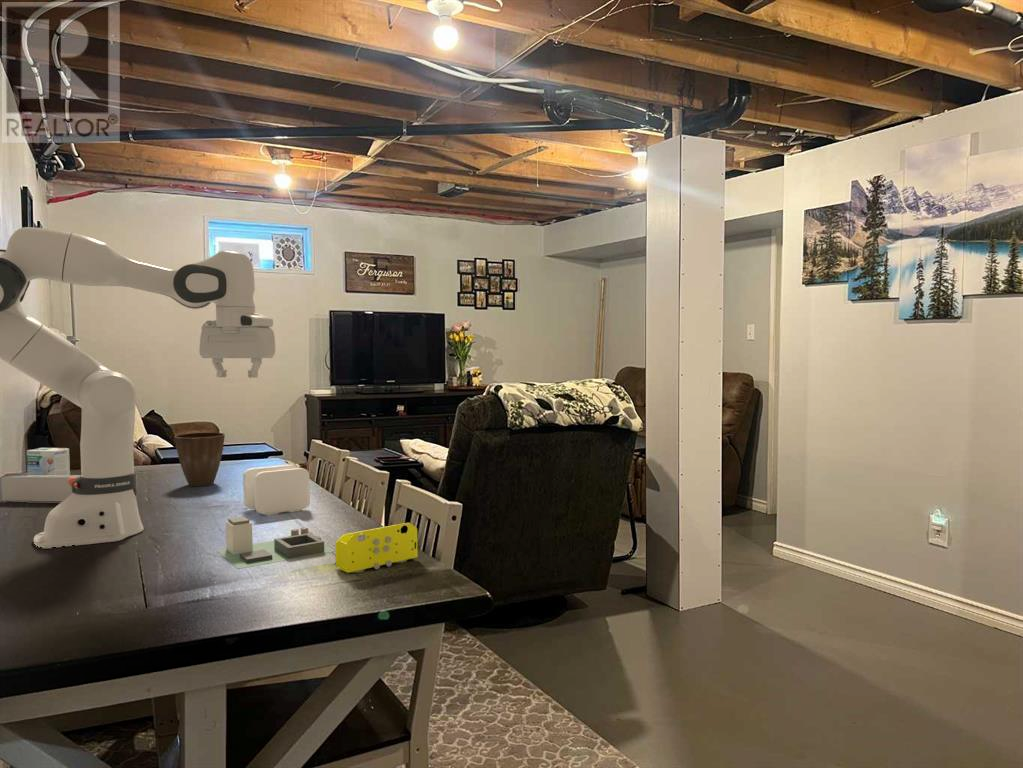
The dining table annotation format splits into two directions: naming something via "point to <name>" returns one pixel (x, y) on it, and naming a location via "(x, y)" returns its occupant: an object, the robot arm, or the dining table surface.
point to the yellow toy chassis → (376, 547)
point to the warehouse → (36, 487)
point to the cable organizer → (276, 489)
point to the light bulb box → (48, 461)
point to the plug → (239, 535)
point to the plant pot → (200, 456)
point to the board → (279, 550)
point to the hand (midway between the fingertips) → (237, 377)
